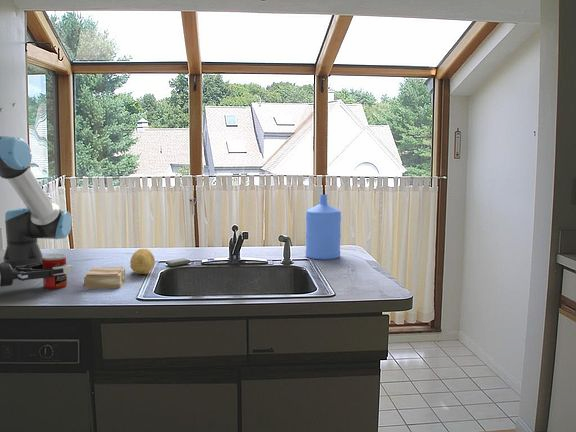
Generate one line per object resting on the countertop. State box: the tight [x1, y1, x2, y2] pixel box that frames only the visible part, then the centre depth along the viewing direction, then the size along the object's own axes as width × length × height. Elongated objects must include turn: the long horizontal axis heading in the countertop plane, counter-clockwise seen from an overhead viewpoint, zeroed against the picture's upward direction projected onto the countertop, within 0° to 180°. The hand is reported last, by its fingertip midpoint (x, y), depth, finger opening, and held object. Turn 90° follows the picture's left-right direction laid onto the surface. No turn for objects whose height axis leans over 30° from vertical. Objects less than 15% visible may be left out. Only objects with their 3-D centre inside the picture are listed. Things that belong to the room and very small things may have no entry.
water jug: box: [305, 194, 342, 261], centre depth 246 cm, size 16×16×28 cm
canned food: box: [42, 253, 68, 290], centre depth 194 cm, size 8×8×11 cm
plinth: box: [83, 266, 126, 290], centre depth 198 cm, size 12×12×5 cm
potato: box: [129, 248, 156, 275], centre depth 214 cm, size 10×14×10 cm
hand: (68, 266), depth 197 cm, fingers closed on canned food, 8 cm apart
